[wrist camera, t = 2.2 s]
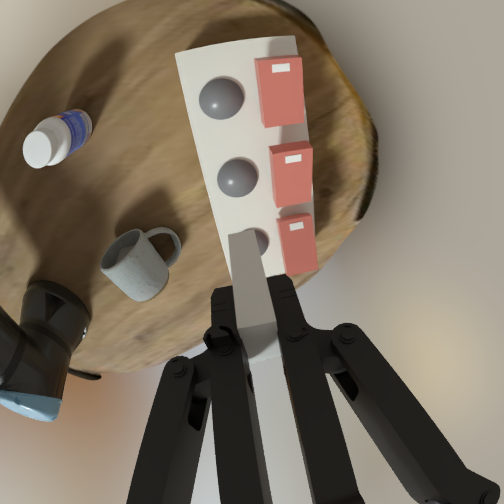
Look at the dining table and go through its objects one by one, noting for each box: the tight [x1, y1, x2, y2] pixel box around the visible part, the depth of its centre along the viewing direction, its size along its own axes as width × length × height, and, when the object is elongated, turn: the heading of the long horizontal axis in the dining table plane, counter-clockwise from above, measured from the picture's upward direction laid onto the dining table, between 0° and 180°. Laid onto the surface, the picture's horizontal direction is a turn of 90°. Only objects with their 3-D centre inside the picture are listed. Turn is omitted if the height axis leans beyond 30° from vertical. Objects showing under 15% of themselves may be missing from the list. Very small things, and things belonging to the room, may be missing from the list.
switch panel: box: [175, 36, 315, 279], centre depth 32 cm, size 12×34×6 cm, turn 9°
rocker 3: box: [276, 212, 318, 276], centre depth 33 cm, size 4×7×2 cm, turn 9°
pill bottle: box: [23, 109, 92, 168], centre depth 22 cm, size 5×5×10 cm
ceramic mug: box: [100, 227, 181, 303], centre depth 35 cm, size 11×8×8 cm
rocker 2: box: [268, 140, 313, 208], centre depth 27 cm, size 4×7×2 cm, turn 9°
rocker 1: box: [254, 55, 304, 128], centre depth 22 cm, size 4×7×2 cm, turn 9°
